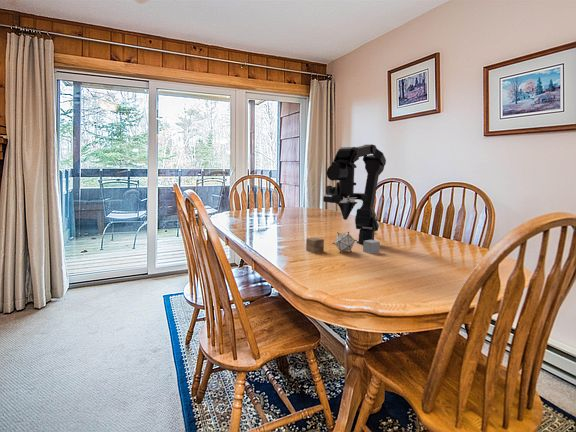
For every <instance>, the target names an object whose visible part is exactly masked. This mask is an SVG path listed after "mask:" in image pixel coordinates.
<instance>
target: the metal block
mask: <svg viewBox="0 0 576 432" xmlns="http://www.w3.org/2000/svg"><path fill="white" fill-rule="evenodd" d="M305 243H306V245H305V250H306V251H307V252H310V253H313V254H315V253H322V252H324V251H325V248H324V247H325V246H324V245H325V239H324V238H322V237H321V238H320V237H317V236H313V237H306V241H305Z"/></svg>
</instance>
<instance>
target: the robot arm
mask: <svg viewBox="0 0 576 432" xmlns="http://www.w3.org/2000/svg"><path fill="white" fill-rule="evenodd" d="M361 157H362V161H363V163H364V169H365V171H366V174H367V176H366V181H365V188H364V192H363V193H362V192H354V189H355V186H357V182H355V169H356V168H357V165H356V164H355V162H357V161H359V159H360V158H361ZM386 163H387V159H386V157H385V155H384V153H383V152H382V151H381V150H379V149H378V148H377V146H376V145H375V144H363V145H361V146H347V147H346V146H345V147H343V146H341V147H339V148H338V150H337V152H336V154H335V156H334V159H333V161H331V165H329V166H328V168H327V170H326V177H327V178H328V179H329V180H330V181H337V182H336V186H333V185H326V186H325V194H324V195H323V202H324V203H330V204H332V203H333V204H337V206H338V208H339V209H340V212H341V216H342V218H343V220H345V221H346V220H348V218H349V216H350V214H351V213H352V211H353V210H354V207H355V206H356V205H357V204H358V201H356V200H360V201H361V202H362V205H361V207H360V208H357V210H356V214H355V218H354V224H355V230H359V233H358V240H357V241H355V242H356V244H357V243H358V244H360V245H363V241H366V240H375V232H378V231H379V226H380V225H379V223H378V220H377V214H376V212H375V209H374V206H375V201H376V200H375V199H376V195H377V187H378V182H379V176H380V175H381V174H382V173H383V171H384V169H385V166H386Z"/></svg>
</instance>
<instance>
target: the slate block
mask: <svg viewBox="0 0 576 432" xmlns="http://www.w3.org/2000/svg"><path fill="white" fill-rule="evenodd" d="M380 247H381V241H379V240H375V239H374V240H366V241H363V244H362V248H363V249H362V252H363V253H368V254H369V255H373V254H378V253H380Z"/></svg>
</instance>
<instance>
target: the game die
mask: <svg viewBox="0 0 576 432" xmlns="http://www.w3.org/2000/svg"><path fill="white" fill-rule="evenodd" d="M336 233H337V235H336V238H335V240H334V242H332V245H335V246H336V248H337V249H338V250H339V253H340V254H341V253H342V252H348V251H349V252H351V253H353V251H352V249H353V247H354V244H355V242H356V241H358V240H357V239H354V238H353V236H352V235H351V234H350V231H347V232H344V233H343V232H342V233H341V232H340V233H339V232H338V231H337V232H336Z"/></svg>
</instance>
